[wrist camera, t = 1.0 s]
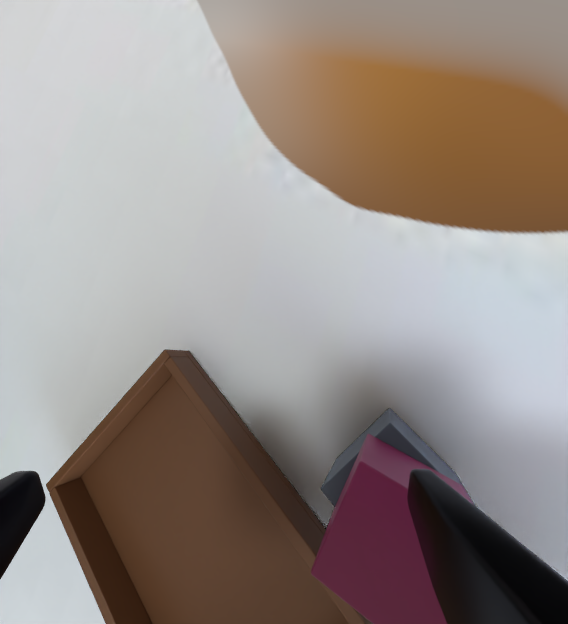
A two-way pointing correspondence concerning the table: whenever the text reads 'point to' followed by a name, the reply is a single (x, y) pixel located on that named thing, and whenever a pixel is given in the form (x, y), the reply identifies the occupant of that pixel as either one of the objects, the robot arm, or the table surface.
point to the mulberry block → (379, 541)
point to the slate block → (396, 436)
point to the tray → (190, 513)
